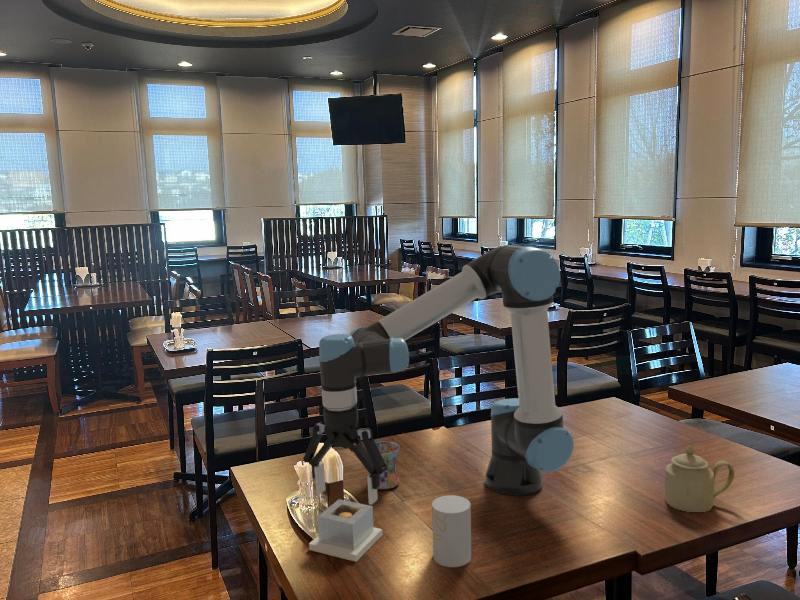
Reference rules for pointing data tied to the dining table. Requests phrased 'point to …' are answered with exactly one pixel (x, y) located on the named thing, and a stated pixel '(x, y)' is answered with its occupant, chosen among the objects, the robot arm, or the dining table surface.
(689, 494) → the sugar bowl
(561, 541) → the dining table surface
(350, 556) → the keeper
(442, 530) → the white upright cylinder
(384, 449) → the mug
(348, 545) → the grey block with hole
